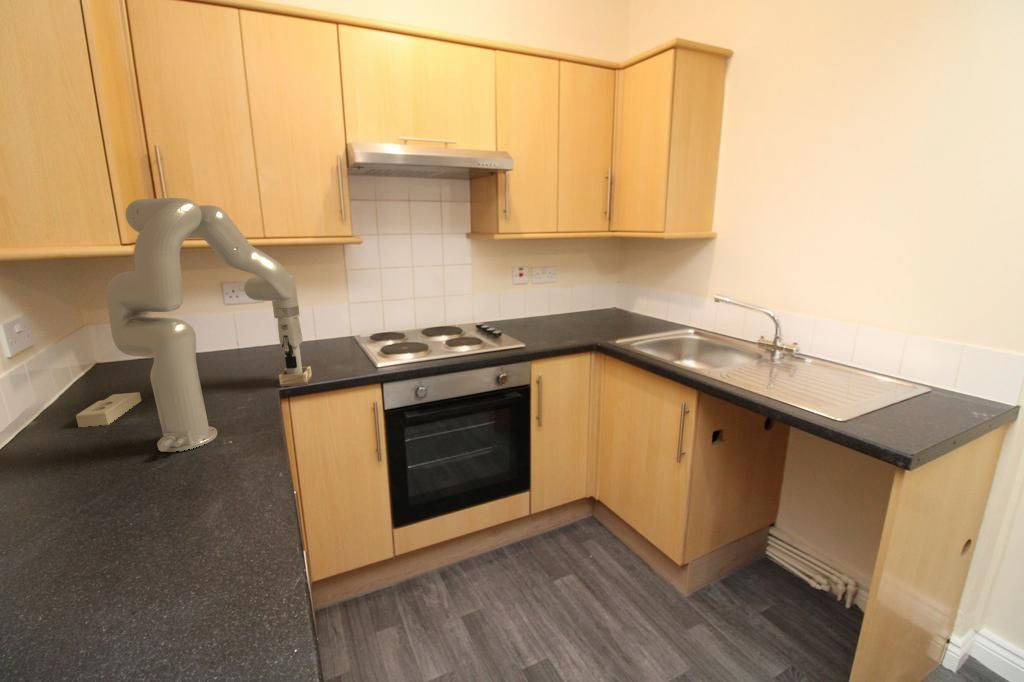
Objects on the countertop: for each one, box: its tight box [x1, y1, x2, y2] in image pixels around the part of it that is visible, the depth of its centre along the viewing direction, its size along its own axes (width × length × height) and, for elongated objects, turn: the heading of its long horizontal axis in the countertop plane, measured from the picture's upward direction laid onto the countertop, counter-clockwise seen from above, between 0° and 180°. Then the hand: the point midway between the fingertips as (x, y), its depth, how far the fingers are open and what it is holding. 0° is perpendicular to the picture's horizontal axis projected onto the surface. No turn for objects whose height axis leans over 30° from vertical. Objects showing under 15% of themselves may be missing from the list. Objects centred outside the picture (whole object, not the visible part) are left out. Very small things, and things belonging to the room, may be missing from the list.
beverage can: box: [283, 344, 303, 375], centre depth 160 cm, size 5×5×12 cm
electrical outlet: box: [75, 392, 142, 428], centre depth 139 cm, size 7×4×18 cm
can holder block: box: [278, 365, 313, 386], centre depth 162 cm, size 8×8×4 cm
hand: (293, 364), depth 161 cm, fingers closed on beverage can, 4 cm apart
